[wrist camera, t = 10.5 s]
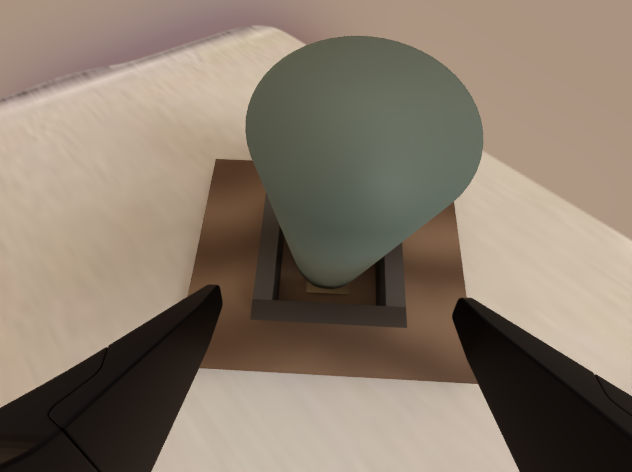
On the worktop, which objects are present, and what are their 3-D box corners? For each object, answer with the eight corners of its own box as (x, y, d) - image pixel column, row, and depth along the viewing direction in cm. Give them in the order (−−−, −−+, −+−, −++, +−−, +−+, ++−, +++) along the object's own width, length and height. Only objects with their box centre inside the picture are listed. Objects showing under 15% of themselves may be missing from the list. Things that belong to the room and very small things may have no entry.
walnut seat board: (464, 377, 17) (507, 397, 13) (185, 361, 17) (147, 376, 13) (440, 179, 22) (467, 151, 18) (222, 168, 22) (202, 139, 18)
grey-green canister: (374, 273, 17) (533, 175, 5) (310, 300, 16) (295, 272, 4) (346, 213, 18) (410, 14, 6) (285, 236, 18) (217, 69, 5)
